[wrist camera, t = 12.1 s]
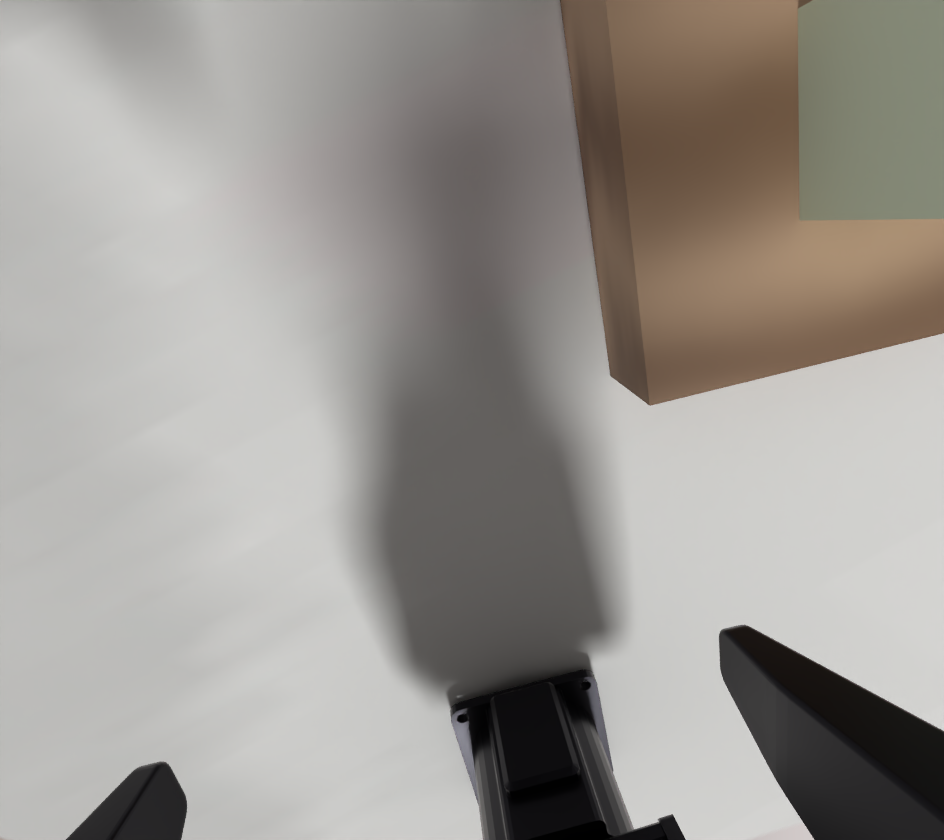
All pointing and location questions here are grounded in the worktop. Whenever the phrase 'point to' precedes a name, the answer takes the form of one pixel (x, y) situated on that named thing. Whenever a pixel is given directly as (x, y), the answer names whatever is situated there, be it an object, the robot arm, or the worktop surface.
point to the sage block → (871, 109)
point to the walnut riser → (724, 204)
